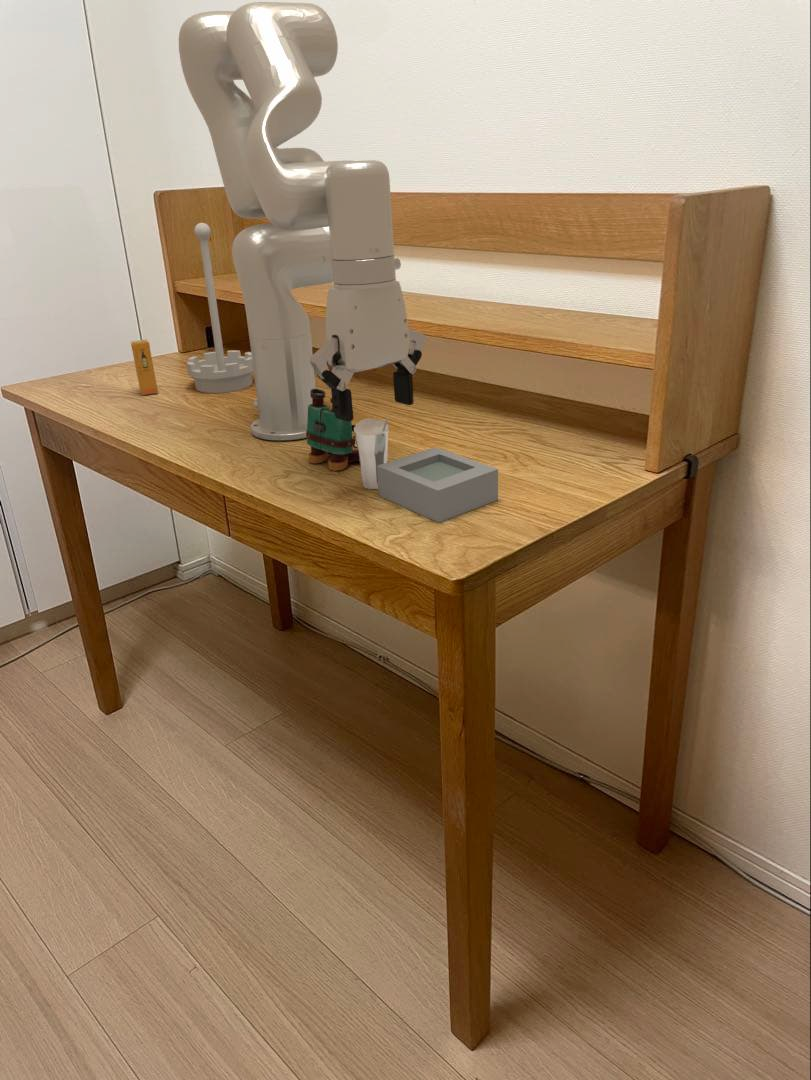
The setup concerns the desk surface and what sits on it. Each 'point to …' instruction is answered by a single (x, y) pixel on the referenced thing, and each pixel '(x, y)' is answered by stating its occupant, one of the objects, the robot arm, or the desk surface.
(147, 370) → the supplement box
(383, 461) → the milkshake
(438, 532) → the desk surface
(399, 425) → the desk surface
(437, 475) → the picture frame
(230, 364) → the flag stand
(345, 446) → the binoculars
